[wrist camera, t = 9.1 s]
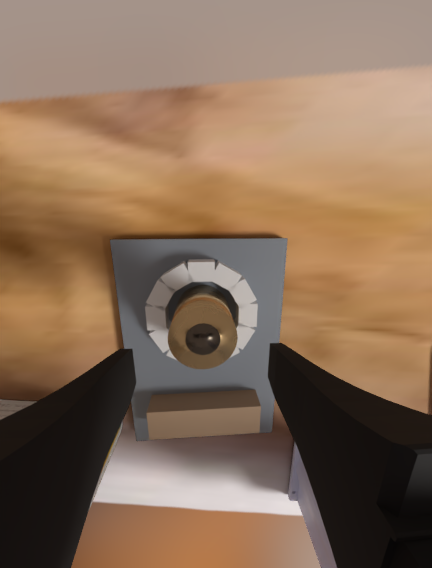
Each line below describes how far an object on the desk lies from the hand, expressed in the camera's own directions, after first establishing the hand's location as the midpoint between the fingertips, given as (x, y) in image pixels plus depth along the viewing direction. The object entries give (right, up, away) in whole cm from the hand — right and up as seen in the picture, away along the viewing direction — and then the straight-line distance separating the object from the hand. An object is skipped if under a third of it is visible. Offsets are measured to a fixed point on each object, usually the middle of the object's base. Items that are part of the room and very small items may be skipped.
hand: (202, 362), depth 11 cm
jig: (0, -2, +9) cm, 9 cm away
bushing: (0, +2, +7) cm, 7 cm away
